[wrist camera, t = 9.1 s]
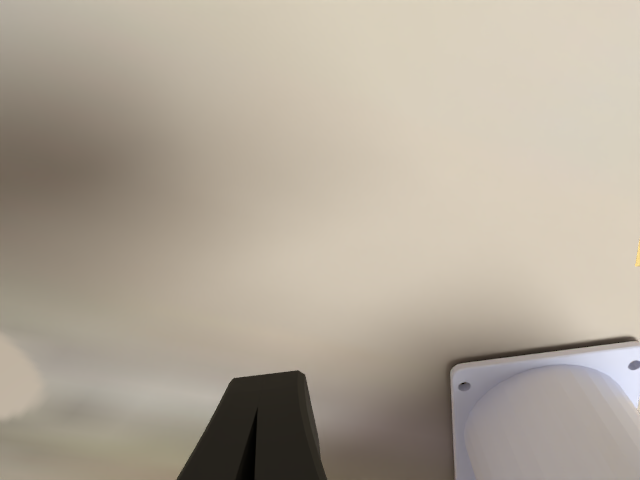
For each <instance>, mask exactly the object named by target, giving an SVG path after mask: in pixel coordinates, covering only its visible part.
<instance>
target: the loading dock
mask: <svg viewBox="0 0 640 480" xmlns="http://www.w3.org/2000/svg"><path fill="white" fill-rule="evenodd" d="M635 266H640V240H639V246H638V252H637V258H636V264H635Z"/></svg>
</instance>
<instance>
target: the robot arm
mask: <svg viewBox="0 0 640 480" xmlns="http://www.w3.org/2000/svg"><path fill="white" fill-rule="evenodd" d="M632 361H633V362H632ZM631 362H632V363H631ZM450 381H451V403H452V426H453V448H454V471H455V480H640V413H639V411H638V410H637V408H638V402H639V397H640V342H639V341H630V342H623V343H615V344H607V345H599V346H592V347H584V348H576V349H568V350H561V351H553V352H545V353H537V354H529V355H522V356H514V357H506V358H498V359H491V360H483V361H475V362H467V363H461V364H457V365H456V366H454V367H453V368H452V369H451V372H450ZM463 382H466V383H465V384H461V383H463ZM177 480H327V478H326V475H325V472H324V469H323V466H322V463H321V459H320V448H319V439H318V434H317V429H316V425H315V420H314V415H313V410H312V406H311V401H310V396H309V391H308V387H307V382H306V377H305V374H303V373H301V372H300V371H290V372H281V373H273V374H265V375H257V376H249V377H240V378H234V379H233V380H232V381H231V382H230V383H229V385H228V387H227V389H226V391H225V393H224V395H223V397H222V399H221V401H220V403H219V405H218V407H217V409H216V411H215V412H214V414H213V416H212V418H211V420H210V422H209V424H208V426H207V427H206V429H205V431H204V433H203V435H202V437H201V438H200V440H199V442H198V444H197V446H196V447H195V449H194V451H193V452H192V454H191V456H190V457H189V459H188V461H187V463H186V464H185V466H184V468H183V469H182V471H181V473H180V475H179V476H178V478H177Z"/></svg>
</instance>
